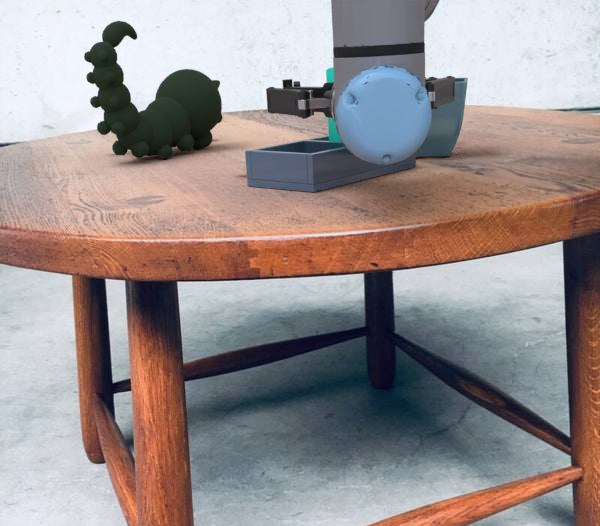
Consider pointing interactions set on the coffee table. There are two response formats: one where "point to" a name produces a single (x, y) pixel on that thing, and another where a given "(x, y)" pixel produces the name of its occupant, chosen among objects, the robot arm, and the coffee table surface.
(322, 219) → the coffee table surface
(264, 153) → the divided storage tray
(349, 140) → the robot arm
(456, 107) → the flower pot
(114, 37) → the toy figurine
